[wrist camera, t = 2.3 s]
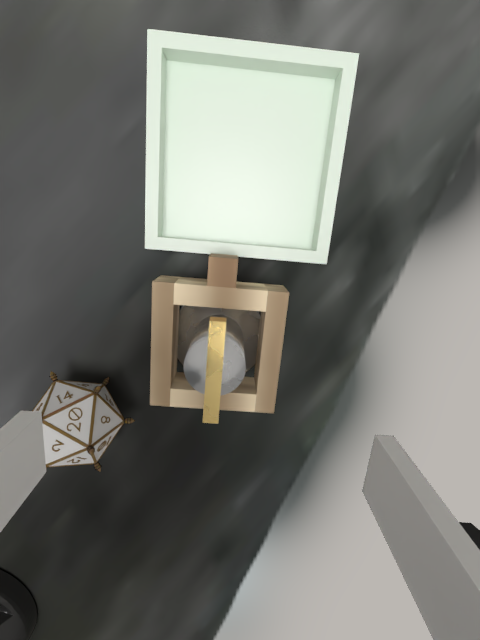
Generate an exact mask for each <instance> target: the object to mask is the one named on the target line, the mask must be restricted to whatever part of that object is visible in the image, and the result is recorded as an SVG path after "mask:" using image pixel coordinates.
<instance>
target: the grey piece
mask: <svg viewBox="0 0 480 640" xmlns="http://www.w3.org/2000/svg"><path fill="white" fill-rule="evenodd" d="M259 326H260V314H259V311H250V310H237V309H224V308H212V307H199V306H187V305H183V306H182V308H181V309H180V311H179V328H178V353H177V358H178V360H179V361H180V362H181V364H182V365H183V366H184V374H185V377H186V379H187V381H188V383H189V384H190V385H191V386H192V387H193V388H194V389H195V390H197V391H198V392H200V393H202V394H204V409H203V423H215V424H218V420H219V407H220V396H221V395H225V394H228V393H230V392H232V391H233V390H235V389H236V388H237V387H238V386H239V385H240V383H241V382H242V380H243V378H244V375H245V373H246V372H247V371H248V370H249V369H251V368H252V367H253V366H254V364H255V363H256V354H257V345H258V335H259Z"/></svg>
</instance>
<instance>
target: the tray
mask: <svg viewBox="0 0 480 640" xmlns="http://www.w3.org/2000/svg"><path fill="white" fill-rule="evenodd" d="M358 58H359V54H358V53H350V52H341V51H333V50H324V49H315V48H307V47H298V46H290V45H281V44H273V43H264V42H255V41H247V40H238V39H230V38H221V37H213V36H204V35H195V34H187V33H178V32H170V31H161V30H153V29H147V112H146V194H145V249H156V250H167V251H179V252H190V253H202V254H211V253H214V254H226V255H237V256H238V257H248V258H260V259H271V260H283V261H294V262H306V263H317V264H327V259H328V252H329V246H330V239H331V233H332V226H333V220H334V213H335V207H336V200H337V194H338V187H339V181H340V174H341V168H342V161H343V155H344V149H345V142H346V136H347V129H348V123H349V116H350V110H351V103H352V97H353V90H354V84H355V77H356V71H357V64H358Z"/></svg>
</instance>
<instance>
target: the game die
mask: <svg viewBox="0 0 480 640" xmlns="http://www.w3.org/2000/svg"><path fill="white" fill-rule="evenodd" d="M50 377H51V379H52V380H53V383H52V385H51V386H50V387H49V389H48V390H47V391H46V393H45V394H44V395H43V397H42V398H41V400H40V401H39V402H38V404H37V405H36V406H35V408H34V409H33V410H32V411H34V412H41V413H42V425H43V438H44V450H45V462H46V467H60V466H73V465H86V464H94V465H95V467H94V468H95V470H98V471H100V472H101V465H100V464H99V463H98V461H99V459H100V458H101V456H102V455H103V453H104V452H105V450H106V449H107V447H108V446H109V444H110V443H111V442H112V440H113V439H114V437H115V436H116V434H117V433H118V431H119V430H120V428H121V427H122V425H123V424H124V423H127V424H128V423H130V424H131V423H132V422H134V421H135V420H133V419H132V418H131V417H130V418H127V419H124V417H123V416H122V414H121V412H120V410H119V409H118V407H117V405H116V403H115V402H114V400H113V398H112V396H111V395H110V393H109V391H108V390H107V388H106V386H105V385H106V384H108V382H109V377H108V378H105V379H104V381H103V383H102V384H101V383H89V382H78V381H66V380H58V379H57V377H58V376H56V374H55V373H53V372H52V371H51V374H50Z"/></svg>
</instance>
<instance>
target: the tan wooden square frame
mask: <svg viewBox="0 0 480 640" xmlns="http://www.w3.org/2000/svg"><path fill="white" fill-rule="evenodd" d="M237 269H238V256H237V255H226V254H214V253H211V254H210V256H209V261H208V277H207V279H200V278H188V277H176V276H164V275H161V276H159V277H158V278H156V279H155V280H154V281H152V322H151V376H150V405H154V406H169V407H185V408H200V409H204V394H202V393H200V392H198V391H197V390H195V389H194V388H193V387H192V386H191V385H190V384H189V383H188V381H187V379H186V377H185V374H184V373H183V372H177V353H178V328H179V305H187V306H199V307H212V308H224V309H237V310H250V311H261V317H260V326H259V335H258V345H257V354H256V363H255V373H254V377H244V378H243V380H242V382H241V383H240V385H239V386H238V387H237V388H236V389H235V390H233V391H232V392H230V393H228V394H225V395H221V396H220V407H219V410H231V411H246V412H261V413H274V408H275V400H276V393H277V385H278V377H279V369H280V361H281V354H282V346H283V338H284V330H285V322H286V315H287V307H288V299H289V292H288V291H287V289H286V288H285V287H284V286H283V285H272V284H260V283H248V282H236V280H237Z"/></svg>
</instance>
